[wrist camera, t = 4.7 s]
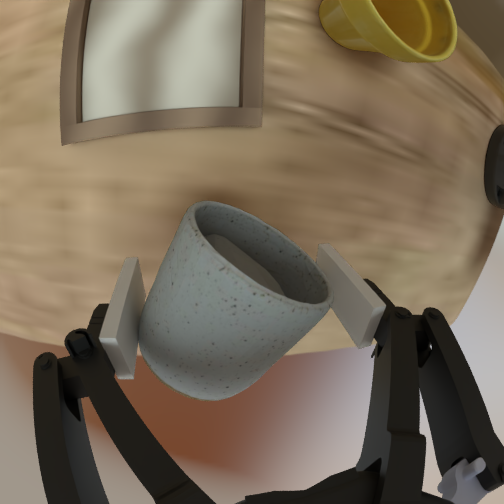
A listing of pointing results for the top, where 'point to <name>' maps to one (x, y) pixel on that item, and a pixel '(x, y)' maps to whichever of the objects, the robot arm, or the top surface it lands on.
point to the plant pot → (393, 27)
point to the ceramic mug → (228, 302)
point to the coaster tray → (160, 66)
